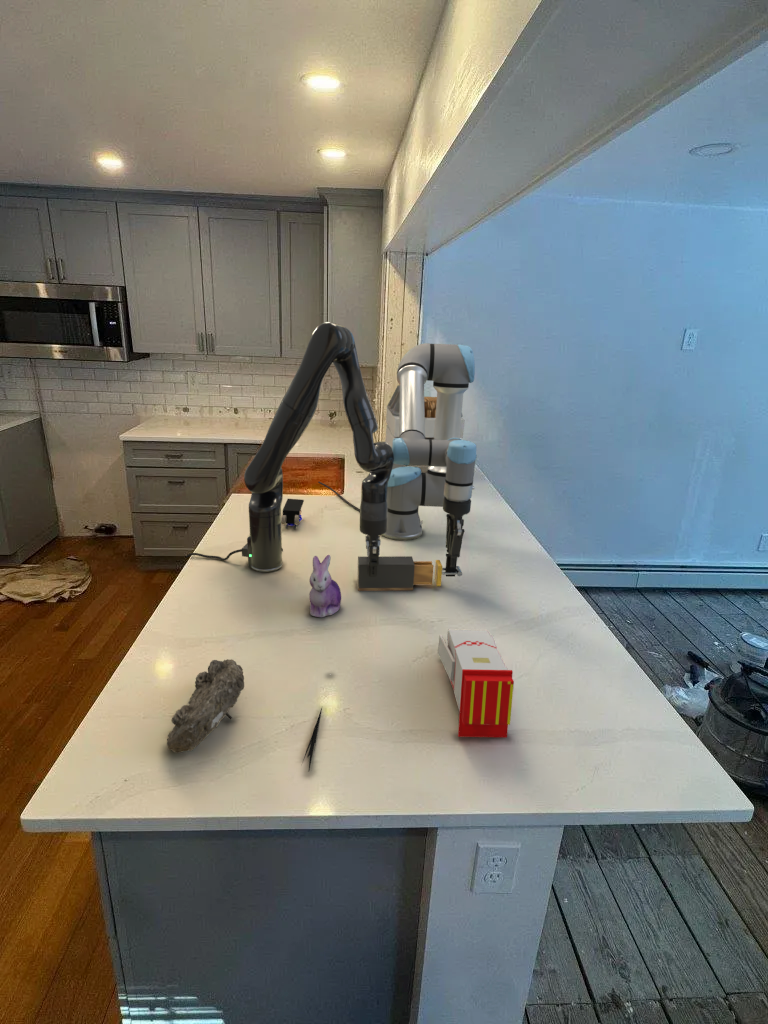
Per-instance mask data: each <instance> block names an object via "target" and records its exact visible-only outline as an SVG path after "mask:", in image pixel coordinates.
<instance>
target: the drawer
mask: <svg viewBox="0 0 768 1024" xmlns="http://www.w3.org/2000/svg"><path fill="white" fill-rule="evenodd" d="M413 561H414V564H415V566H414V583H413V586H414V585H415V586H417V585H419V586H421V585H425V586H426V585H433V581H434V583H435V585H436V587H441V586H442V576H446V575H455V576H456V575H457V577H462V576H463V571H462V569H461V568H460V566H459V565H456V572H445V569H446V567H443V564H442V563H441V560H440V559H435V562H434V563H435V564H433V561H432V560H431V561H430V560H419V561H417V560H416V561H415V560H413ZM434 565H435V566H434ZM433 579H434V580H433Z"/></svg>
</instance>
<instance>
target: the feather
mask: <svg viewBox="0 0 768 1024" xmlns="http://www.w3.org/2000/svg"><path fill="white" fill-rule="evenodd" d="M329 675H330V676H331V675H332V674H331V673H330V674H329ZM322 710H323V707H321V708H320V710H319V713H318V716H317V719H316V723H315V725H314V728H313V731H312V733H311V737H310V739H309V742H308V745H307V748H306V751H305V754H304V757H303V760H302V763H301V767H302V765H303V763H304V761H305V758H308V759H309V760H308V762H307V763H308V764H307V766H308V771H310V770H311V766H312V765H311V764H312V760H313V757H315V756H314V755H315V751H316V749H315V746H317V739H318V733H319V729H320V722H321V717H322V712H323V711H322ZM313 754H314V755H313ZM306 755H307V757H306Z"/></svg>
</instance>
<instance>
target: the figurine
mask: <svg viewBox="0 0 768 1024" xmlns="http://www.w3.org/2000/svg"><path fill="white" fill-rule="evenodd" d="M331 557H332V556H331V554H327V555H326V556H325V557H324V558H323V560H322V561H320V559H319V557H318V556H317V555H314V556H313V557H312V572H311V574H310V577H309V585H310V586H311V589H310V591H309V598H308V599H309V604H310V605H309V612H310V613H309V614H310V616H313V617H316V618H325V617H326V616H332V615H334V614H336V613H337V612H339V610H340V609H341V602H342V593H341V588H340V586H339V584H338V583H337V581H335V580H334V579H332V576H331V573H330V572H329V567H330V565H331Z"/></svg>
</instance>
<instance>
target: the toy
mask: <svg viewBox="0 0 768 1024" xmlns="http://www.w3.org/2000/svg"><path fill="white" fill-rule="evenodd" d="M446 640H447V643H446V641H445V639H444V636H443V635H442V634H439V637H438V646H437V656H438V657H439V659H440V661H441V663H442V666H443V668H444V670H445V672H446V674H447V677H448V679H449V681H450V684H451V687H452V690H453V693H454V697H455V701H456V705H457V708H458V711H459V714H458V715H459V716H458V730H457V731H458V732H457V737H458V738H508V731H509V726H510V725H511V717H512V707H513V697H514V696H513V695H514V684H515V680H514V679H513V673H514V671H513V670H512V669H508V667H507V665H506V662H505V661H504V659H503V658H502V655H501V653H500V651H499V649H498V647H497V643H496V639H495V637H494V635H493V634H491V632H490V631H489V629H467V628H466V629H465V628H463V629H461V628H460V629H459V628H448V630H447V639H446Z"/></svg>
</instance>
